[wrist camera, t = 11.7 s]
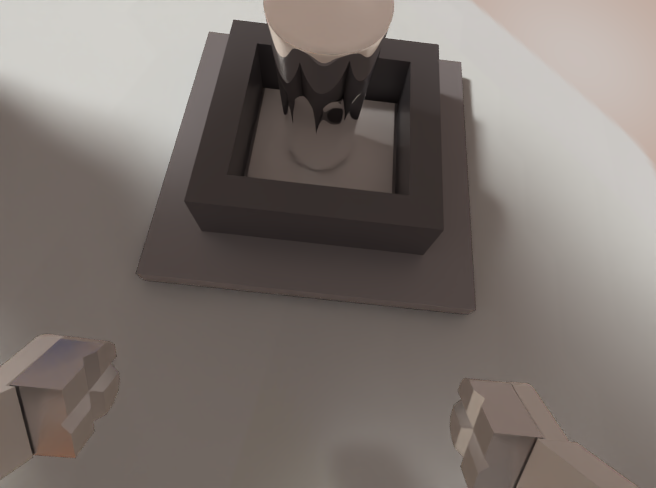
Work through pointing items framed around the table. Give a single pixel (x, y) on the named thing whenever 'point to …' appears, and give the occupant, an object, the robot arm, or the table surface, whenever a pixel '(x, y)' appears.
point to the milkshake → (325, 70)
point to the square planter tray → (319, 186)
